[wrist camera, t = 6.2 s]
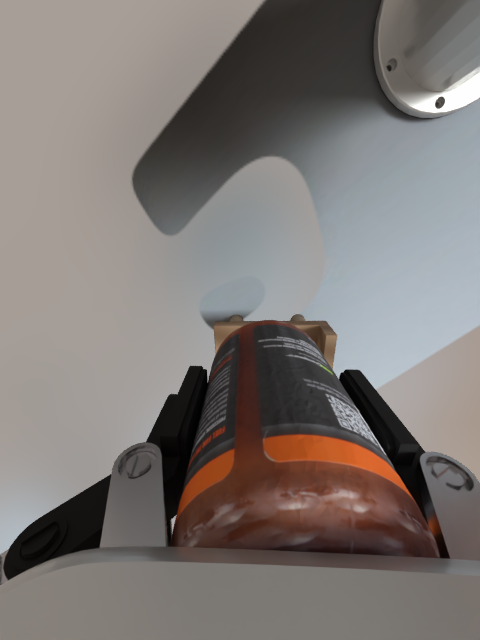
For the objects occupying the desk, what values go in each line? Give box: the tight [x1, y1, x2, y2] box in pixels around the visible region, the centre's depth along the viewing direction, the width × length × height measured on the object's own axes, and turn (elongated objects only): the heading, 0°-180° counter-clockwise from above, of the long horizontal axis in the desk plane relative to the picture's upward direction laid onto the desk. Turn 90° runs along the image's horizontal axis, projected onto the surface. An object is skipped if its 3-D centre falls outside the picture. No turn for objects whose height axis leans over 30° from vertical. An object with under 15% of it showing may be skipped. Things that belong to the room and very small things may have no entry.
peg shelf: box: [214, 314, 337, 368], centre depth 29 cm, size 16×12×9 cm
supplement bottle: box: [170, 320, 440, 558], centre depth 8 cm, size 6×6×11 cm
